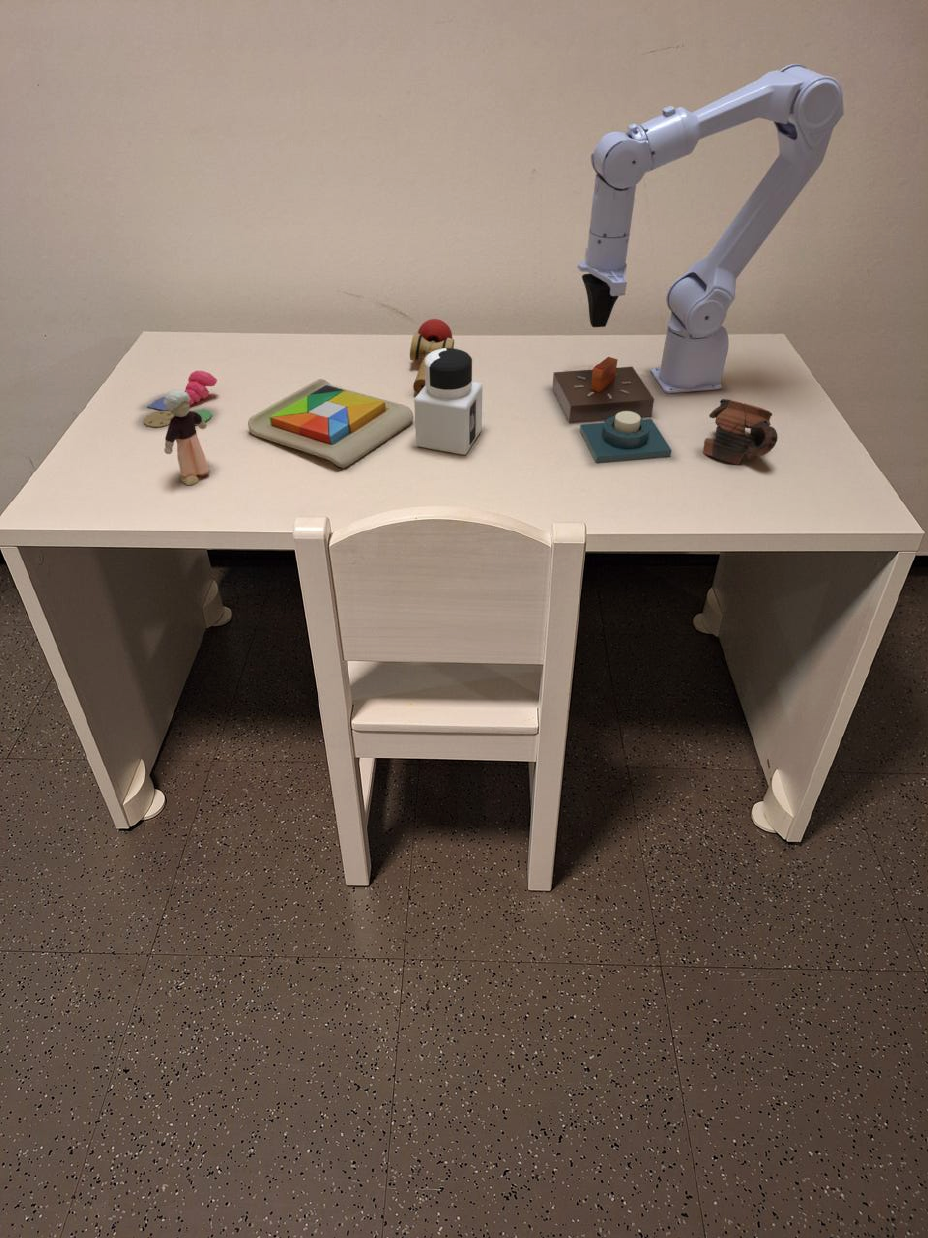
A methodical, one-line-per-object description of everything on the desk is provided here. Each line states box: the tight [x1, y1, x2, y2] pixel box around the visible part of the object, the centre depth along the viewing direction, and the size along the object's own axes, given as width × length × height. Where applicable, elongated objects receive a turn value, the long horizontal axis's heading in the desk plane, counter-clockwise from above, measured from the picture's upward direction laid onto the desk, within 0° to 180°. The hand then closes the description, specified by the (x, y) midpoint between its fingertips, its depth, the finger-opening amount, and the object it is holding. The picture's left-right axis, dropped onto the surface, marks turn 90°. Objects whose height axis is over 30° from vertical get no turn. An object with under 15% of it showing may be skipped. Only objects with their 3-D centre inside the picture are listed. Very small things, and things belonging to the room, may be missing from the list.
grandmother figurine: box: [163, 389, 211, 486], centre depth 109 cm, size 8×4×13 cm, turn 164°
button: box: [614, 411, 642, 434], centre depth 116 cm, size 4×4×2 cm
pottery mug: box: [702, 398, 779, 466], centre depth 116 cm, size 12×10×8 cm
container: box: [413, 348, 483, 456], centre depth 116 cm, size 8×8×13 cm
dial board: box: [551, 366, 655, 424], centre depth 127 cm, size 13×11×3 cm
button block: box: [579, 415, 672, 464], centre depth 118 cm, size 11×9×3 cm
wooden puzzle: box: [247, 378, 414, 469], centre depth 121 cm, size 18×19×4 cm
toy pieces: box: [142, 370, 218, 428], centre depth 125 cm, size 12×11×4 cm
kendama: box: [409, 318, 455, 395], centre depth 134 cm, size 8×6×18 cm
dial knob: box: [591, 356, 618, 392], centre depth 124 cm, size 5×2×4 cm, turn 144°
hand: (597, 325), depth 124 cm, fingers closed
